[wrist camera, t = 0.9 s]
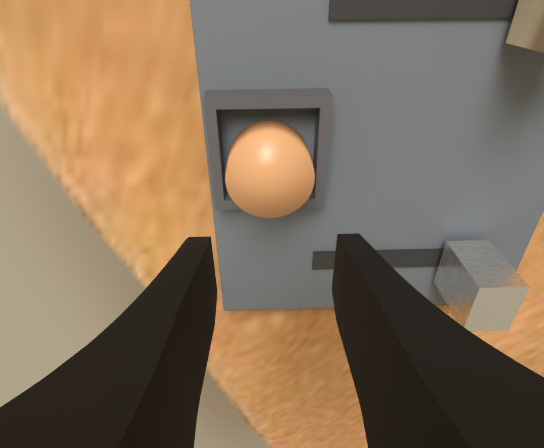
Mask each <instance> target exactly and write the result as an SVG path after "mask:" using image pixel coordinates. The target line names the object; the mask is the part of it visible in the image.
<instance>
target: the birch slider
mask: <svg viewBox="0 0 544 448" xmlns="http://www.w3.org/2000/svg"><path fill="white" fill-rule="evenodd" d="M506 43H508V44H511V45H515V46H519V47H523V48H527V49H531V50H534V51H538V52H542V53H544V0H519V1H518V4H517V7H516V10H515V14H514V17H513V20H512V24H511V27H510V30H509V34H508V37H507V40H506Z"/></svg>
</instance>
